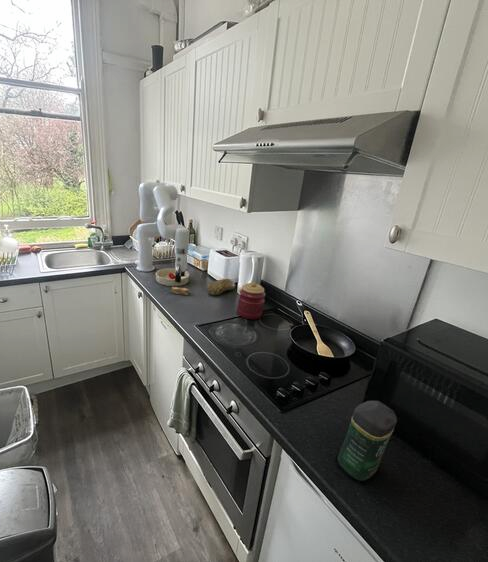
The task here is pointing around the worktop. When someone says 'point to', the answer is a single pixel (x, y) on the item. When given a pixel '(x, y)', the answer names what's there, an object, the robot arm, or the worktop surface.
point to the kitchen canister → (251, 301)
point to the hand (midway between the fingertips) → (179, 279)
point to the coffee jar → (366, 439)
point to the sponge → (220, 286)
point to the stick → (180, 290)
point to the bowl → (166, 280)
